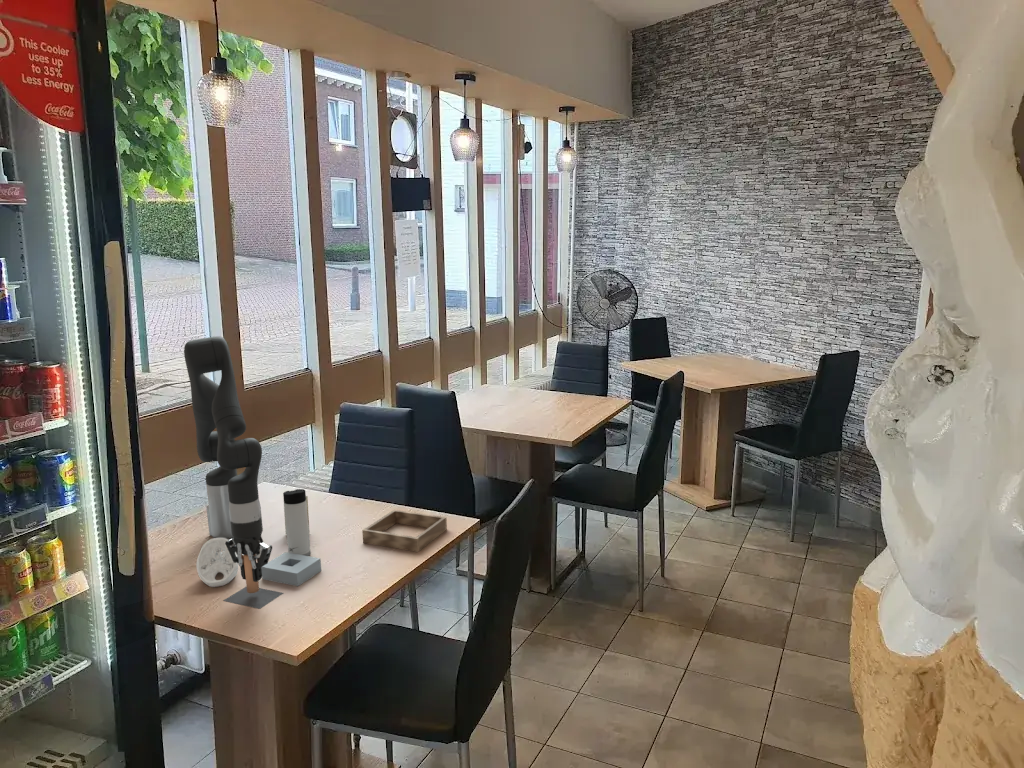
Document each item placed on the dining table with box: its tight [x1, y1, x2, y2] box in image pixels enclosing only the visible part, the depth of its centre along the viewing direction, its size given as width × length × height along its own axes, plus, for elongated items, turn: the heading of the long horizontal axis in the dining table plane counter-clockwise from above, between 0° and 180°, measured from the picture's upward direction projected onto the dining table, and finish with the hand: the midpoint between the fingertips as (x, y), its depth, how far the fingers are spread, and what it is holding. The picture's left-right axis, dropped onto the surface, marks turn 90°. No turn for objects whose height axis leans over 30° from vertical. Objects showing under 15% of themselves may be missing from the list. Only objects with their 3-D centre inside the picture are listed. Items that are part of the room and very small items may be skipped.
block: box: [261, 551, 322, 587], centre depth 210 cm, size 12×10×4 cm
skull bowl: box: [195, 538, 239, 588], centre depth 209 cm, size 10×14×12 cm
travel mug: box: [282, 488, 312, 556], centre depth 222 cm, size 6×7×20 cm
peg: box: [243, 554, 260, 593], centre depth 197 cm, size 3×3×10 cm
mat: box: [222, 586, 284, 610], centre depth 198 cm, size 12×9×1 cm
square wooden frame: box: [361, 509, 448, 553], centre depth 235 cm, size 19×18×4 cm
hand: (252, 579), depth 197 cm, fingers closed on peg, 3 cm apart
